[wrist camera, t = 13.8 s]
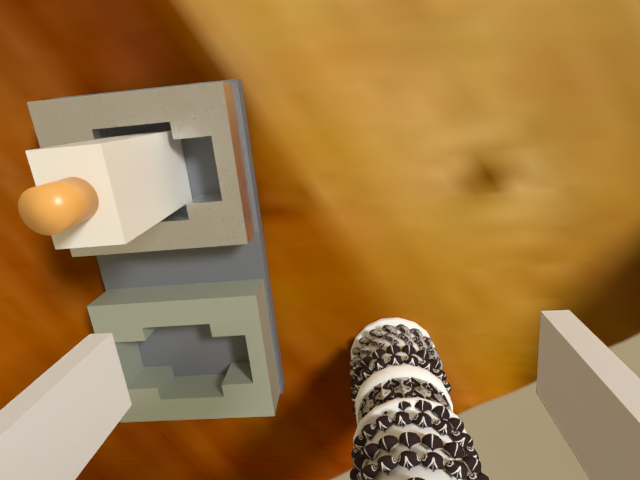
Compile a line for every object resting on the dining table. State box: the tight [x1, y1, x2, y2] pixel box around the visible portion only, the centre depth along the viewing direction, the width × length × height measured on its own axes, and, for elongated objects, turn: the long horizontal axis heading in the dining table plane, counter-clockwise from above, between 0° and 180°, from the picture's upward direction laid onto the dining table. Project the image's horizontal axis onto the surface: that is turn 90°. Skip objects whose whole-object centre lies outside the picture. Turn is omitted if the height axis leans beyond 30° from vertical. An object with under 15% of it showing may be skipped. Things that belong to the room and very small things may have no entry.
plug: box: [18, 130, 192, 250], centre depth 29 cm, size 6×4×15 cm
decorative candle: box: [350, 317, 490, 480], centre depth 31 cm, size 9×9×25 cm
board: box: [53, 79, 285, 394], centre depth 40 cm, size 30×16×2 cm, turn 5°
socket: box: [27, 81, 256, 257], centre depth 35 cm, size 12×15×4 cm
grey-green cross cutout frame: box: [87, 279, 280, 422], centre depth 40 cm, size 12×15×4 cm
